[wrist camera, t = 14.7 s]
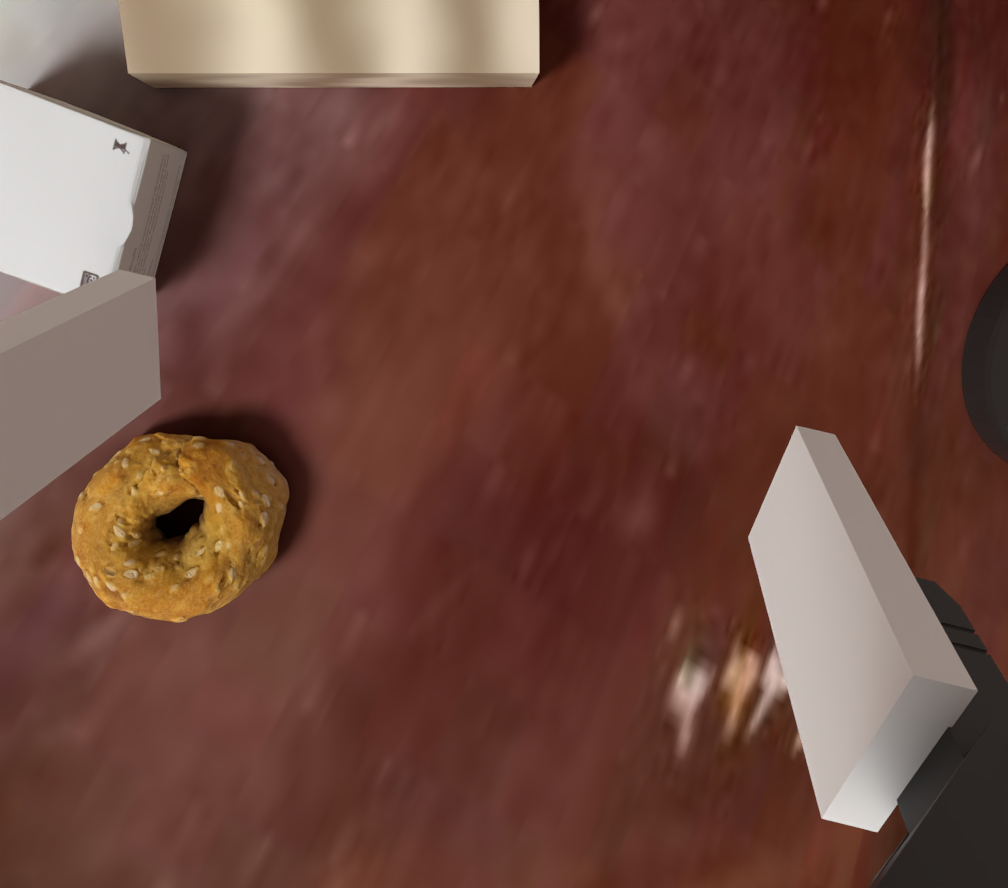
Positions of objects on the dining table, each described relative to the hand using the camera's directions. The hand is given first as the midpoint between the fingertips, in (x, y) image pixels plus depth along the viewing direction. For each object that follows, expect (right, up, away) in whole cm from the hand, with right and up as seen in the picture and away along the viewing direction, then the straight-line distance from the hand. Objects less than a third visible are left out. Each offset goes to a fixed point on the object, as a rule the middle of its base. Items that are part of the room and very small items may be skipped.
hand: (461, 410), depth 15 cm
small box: (-19, +11, +21) cm, 31 cm away
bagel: (-16, -4, +26) cm, 31 cm away
